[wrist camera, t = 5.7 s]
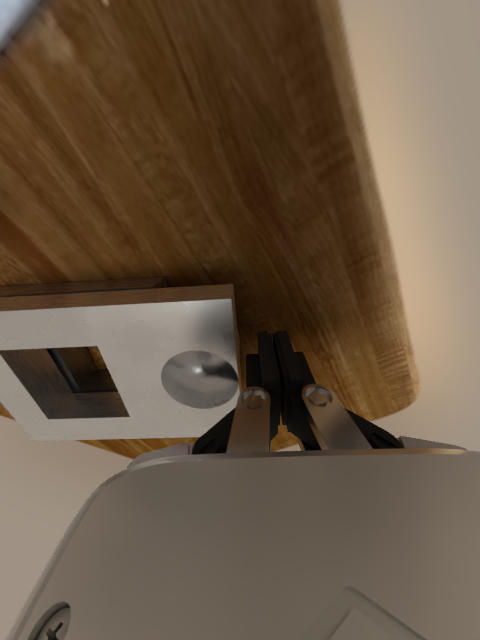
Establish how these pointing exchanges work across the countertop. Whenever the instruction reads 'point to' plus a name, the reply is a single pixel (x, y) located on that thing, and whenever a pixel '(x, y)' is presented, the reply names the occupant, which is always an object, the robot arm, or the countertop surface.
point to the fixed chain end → (78, 360)
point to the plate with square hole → (123, 362)
